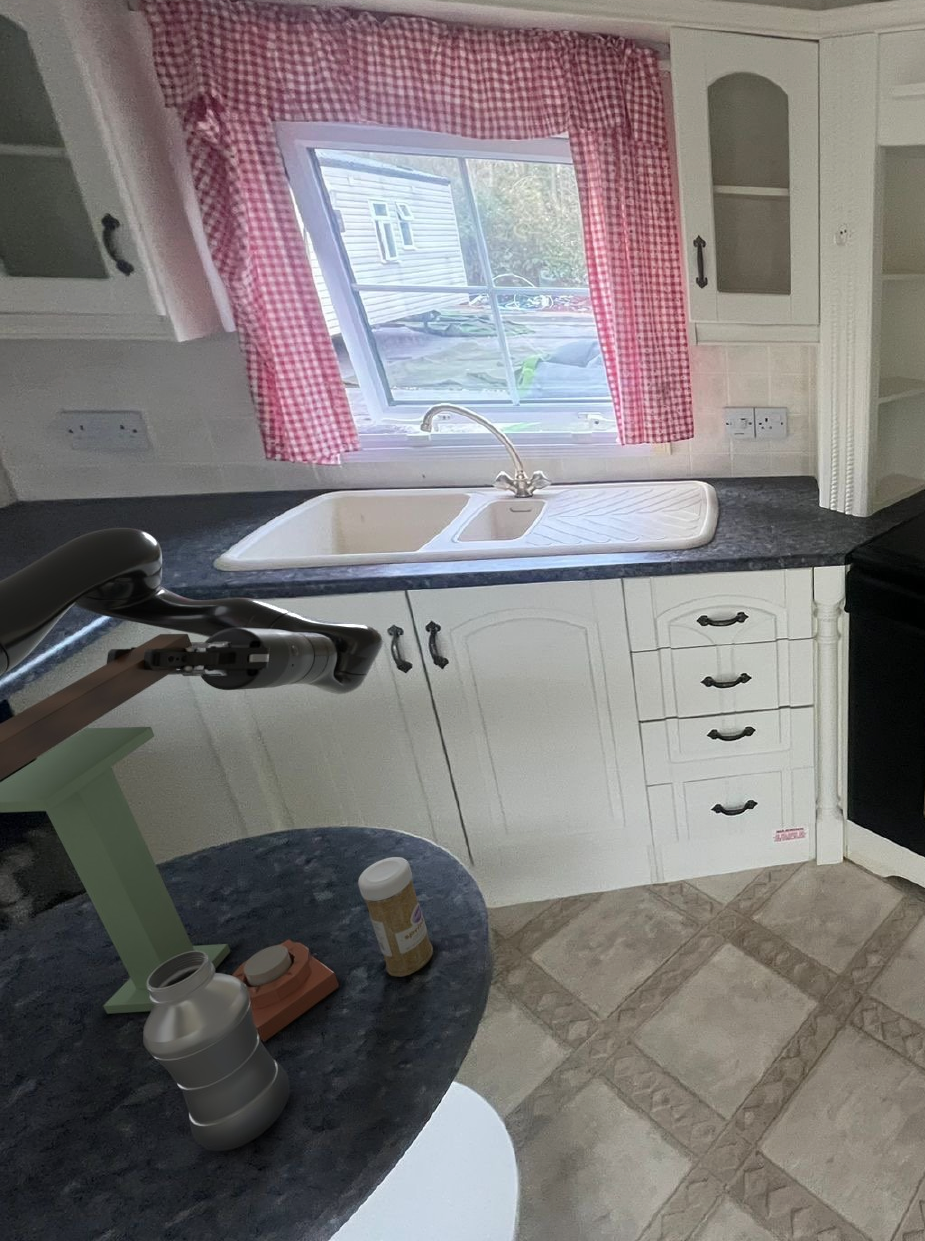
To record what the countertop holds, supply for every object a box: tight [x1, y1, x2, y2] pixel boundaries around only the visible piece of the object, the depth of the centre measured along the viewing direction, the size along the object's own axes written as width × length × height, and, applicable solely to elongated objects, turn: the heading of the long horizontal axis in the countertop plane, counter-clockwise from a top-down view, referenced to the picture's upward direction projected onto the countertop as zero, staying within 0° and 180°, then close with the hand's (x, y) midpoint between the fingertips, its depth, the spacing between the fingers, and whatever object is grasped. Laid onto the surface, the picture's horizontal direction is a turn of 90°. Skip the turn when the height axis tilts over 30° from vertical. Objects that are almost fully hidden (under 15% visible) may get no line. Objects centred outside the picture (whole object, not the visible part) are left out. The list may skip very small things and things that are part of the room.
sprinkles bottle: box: [357, 856, 434, 978], centre depth 82 cm, size 5×5×13 cm
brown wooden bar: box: [0, 633, 192, 781], centre depth 72 cm, size 21×3×3 cm, turn 6°
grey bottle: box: [142, 950, 291, 1152], centre depth 65 cm, size 6×7×20 cm
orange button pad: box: [231, 938, 340, 1043], centre depth 79 cm, size 9×7×4 cm
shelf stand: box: [0, 726, 231, 1015], centre depth 75 cm, size 11×7×30 cm, turn 6°
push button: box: [243, 944, 292, 987], centre depth 78 cm, size 4×4×2 cm
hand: (129, 659), depth 76 cm, fingers closed on brown wooden bar, 3 cm apart
